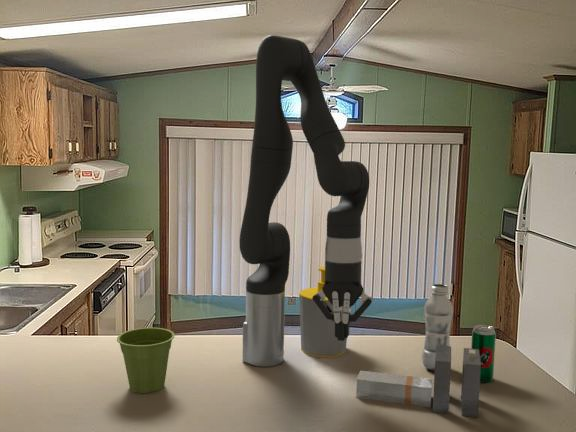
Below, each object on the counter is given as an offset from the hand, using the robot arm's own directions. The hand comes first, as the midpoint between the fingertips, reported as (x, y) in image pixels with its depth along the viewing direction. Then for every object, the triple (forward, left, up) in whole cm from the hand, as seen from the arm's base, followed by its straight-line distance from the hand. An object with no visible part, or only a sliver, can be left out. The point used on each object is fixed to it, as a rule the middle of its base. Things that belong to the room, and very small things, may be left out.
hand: (341, 339), depth 126 cm
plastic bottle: (+19, +20, -12) cm, 30 cm away
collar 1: (+21, +1, -11) cm, 24 cm away
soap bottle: (-9, +25, -12) cm, 29 cm away
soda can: (+29, +17, -12) cm, 35 cm away
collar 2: (+26, +1, -11) cm, 29 cm away
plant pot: (-40, -10, -12) cm, 43 cm away
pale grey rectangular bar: (+11, +1, -11) cm, 16 cm away
